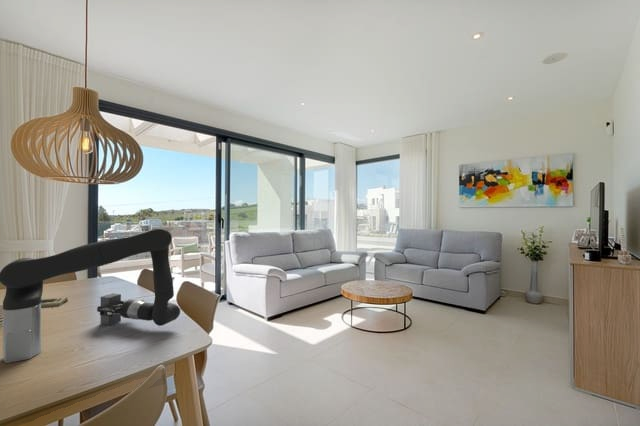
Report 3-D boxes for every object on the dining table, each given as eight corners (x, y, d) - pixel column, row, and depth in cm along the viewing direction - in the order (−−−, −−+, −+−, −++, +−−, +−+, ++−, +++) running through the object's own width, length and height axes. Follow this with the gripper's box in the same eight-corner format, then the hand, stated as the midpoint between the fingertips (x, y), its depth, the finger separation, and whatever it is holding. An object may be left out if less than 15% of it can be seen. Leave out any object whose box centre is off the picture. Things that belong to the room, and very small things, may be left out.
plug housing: (120, 320, 132) (120, 294, 132) (108, 325, 127) (108, 297, 127) (112, 319, 134) (112, 293, 134) (100, 323, 128) (100, 296, 128)
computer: (21, 309, 146) (21, 303, 146) (31, 304, 153) (31, 298, 153) (59, 307, 150) (59, 300, 150) (68, 302, 158) (68, 296, 158)
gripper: (149, 296, 133) (122, 293, 138) (120, 306, 119) (91, 302, 124) (149, 312, 133) (122, 308, 138) (120, 324, 119) (91, 319, 124)
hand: (107, 305), depth 131 cm, fingers open, 8 cm apart
